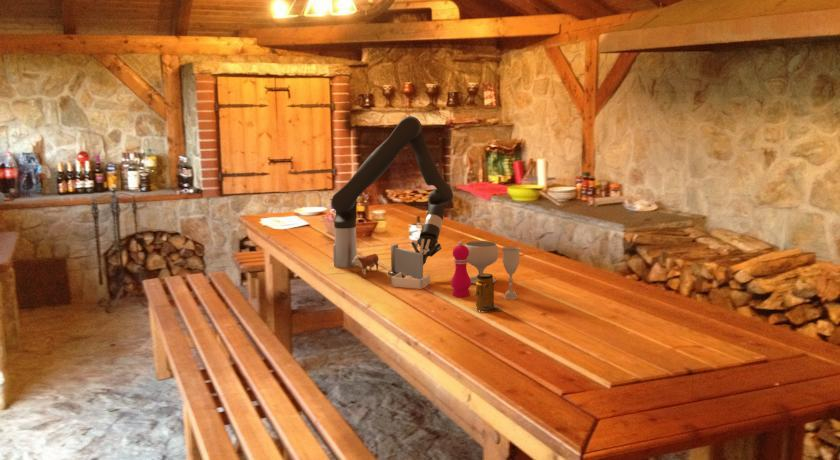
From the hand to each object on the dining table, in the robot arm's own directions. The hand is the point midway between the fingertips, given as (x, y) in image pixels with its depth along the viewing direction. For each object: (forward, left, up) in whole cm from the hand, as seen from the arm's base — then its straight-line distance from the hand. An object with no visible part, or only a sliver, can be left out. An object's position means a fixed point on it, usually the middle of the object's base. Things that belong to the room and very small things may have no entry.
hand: (421, 263), depth 282 cm
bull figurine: (-26, +4, -7) cm, 27 cm away
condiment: (+36, -31, -7) cm, 48 cm away
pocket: (-1, -8, -6) cm, 11 cm away
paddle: (-7, +2, -5) cm, 9 cm away
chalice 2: (+40, -15, -7) cm, 43 cm away
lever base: (-14, +6, -6) cm, 17 cm away
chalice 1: (+23, +5, -7) cm, 25 cm away
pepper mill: (+22, -17, -7) cm, 28 cm away
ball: (-1, -10, -6) cm, 12 cm away
